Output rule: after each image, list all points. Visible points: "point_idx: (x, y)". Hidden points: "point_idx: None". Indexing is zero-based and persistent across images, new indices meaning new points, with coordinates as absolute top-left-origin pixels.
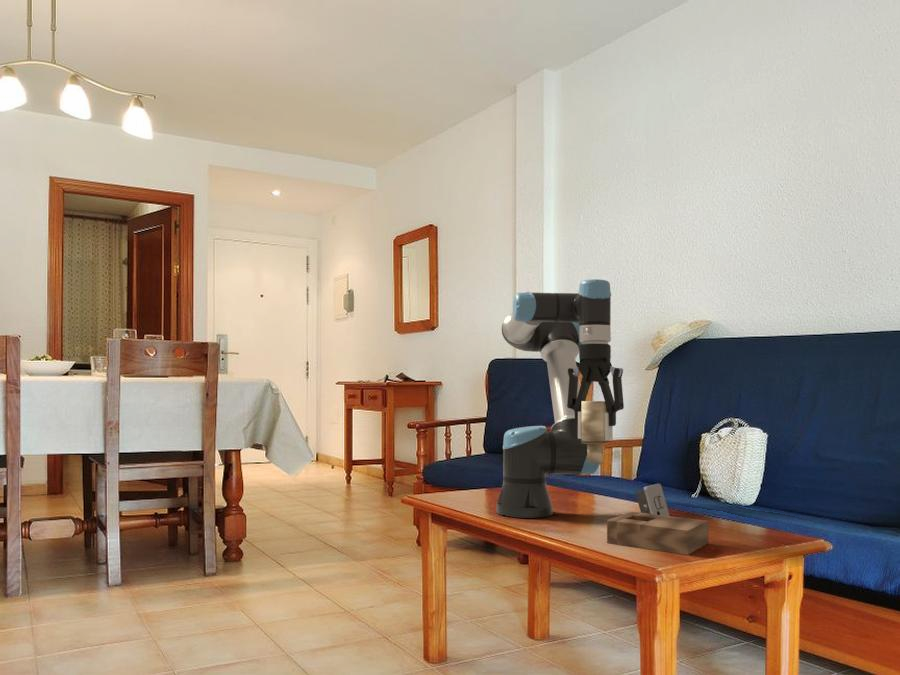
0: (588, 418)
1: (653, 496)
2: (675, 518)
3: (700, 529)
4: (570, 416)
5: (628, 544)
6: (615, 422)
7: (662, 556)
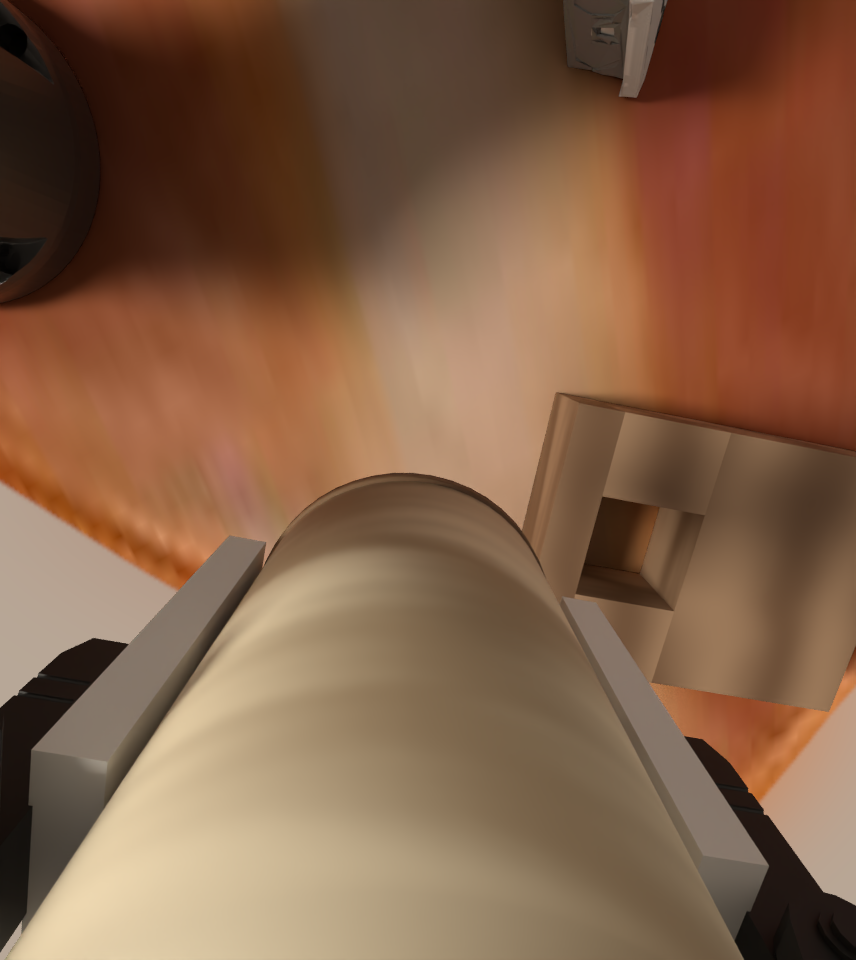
0: None
1: None
2: (786, 483)
3: None
4: None
5: None
6: (734, 790)
7: (698, 713)
